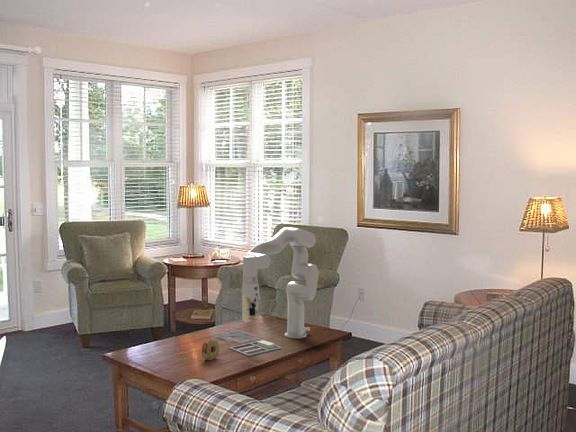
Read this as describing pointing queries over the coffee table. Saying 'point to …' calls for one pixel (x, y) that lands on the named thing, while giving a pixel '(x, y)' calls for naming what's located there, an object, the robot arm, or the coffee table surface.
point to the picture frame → (238, 336)
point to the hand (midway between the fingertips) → (250, 314)
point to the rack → (252, 350)
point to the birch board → (248, 311)
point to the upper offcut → (266, 344)
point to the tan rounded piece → (206, 348)
